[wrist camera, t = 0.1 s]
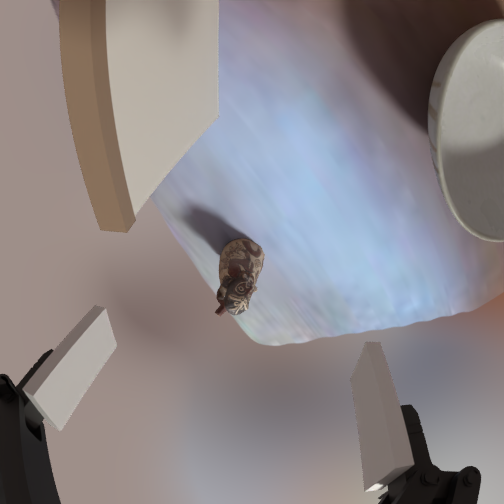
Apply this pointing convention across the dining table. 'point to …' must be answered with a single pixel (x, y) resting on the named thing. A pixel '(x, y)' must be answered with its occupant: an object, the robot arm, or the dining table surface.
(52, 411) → the robot arm
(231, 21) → the dining table surface
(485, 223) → the decorative bowl
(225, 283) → the figurine
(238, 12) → the dining table surface
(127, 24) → the upright board stand
